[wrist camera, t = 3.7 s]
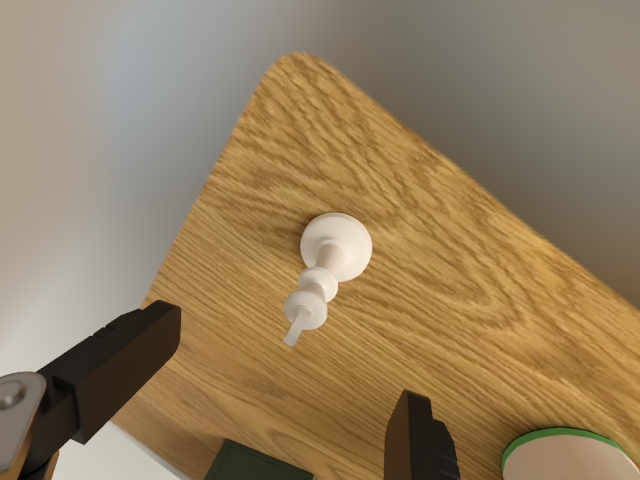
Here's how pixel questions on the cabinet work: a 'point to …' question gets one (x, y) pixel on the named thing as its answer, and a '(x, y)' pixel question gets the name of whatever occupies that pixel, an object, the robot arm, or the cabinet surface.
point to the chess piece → (325, 268)
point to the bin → (251, 466)
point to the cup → (566, 457)
